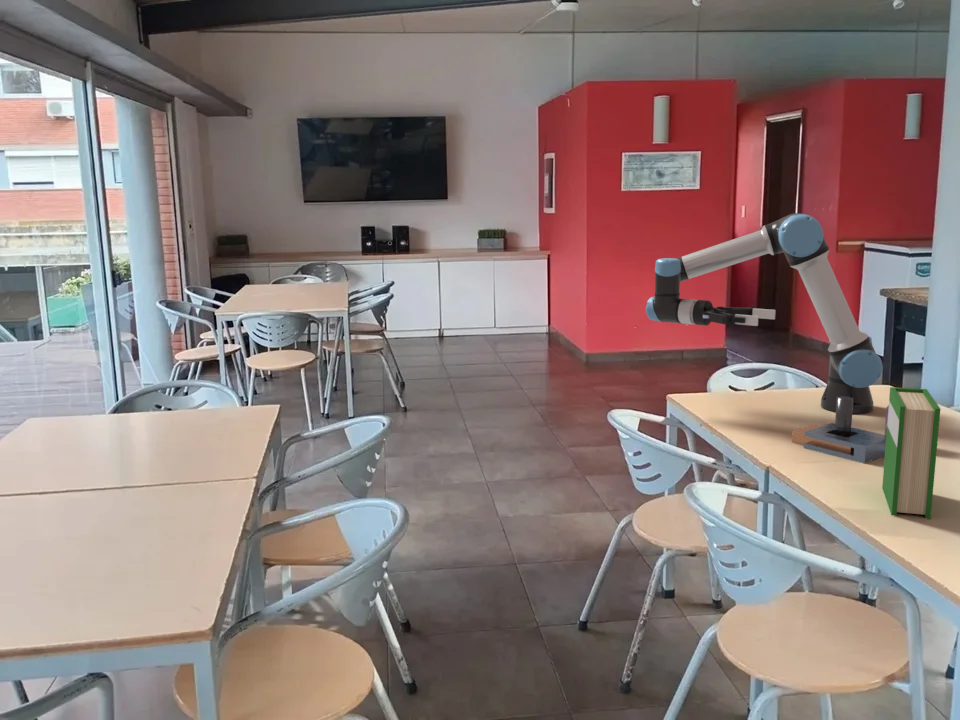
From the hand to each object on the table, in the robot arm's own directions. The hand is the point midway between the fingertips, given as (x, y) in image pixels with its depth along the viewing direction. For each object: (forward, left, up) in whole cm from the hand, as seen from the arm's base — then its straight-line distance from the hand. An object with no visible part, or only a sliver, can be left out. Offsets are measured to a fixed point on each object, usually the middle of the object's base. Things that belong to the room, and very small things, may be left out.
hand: (766, 317), depth 242 cm
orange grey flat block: (+3, +27, -32) cm, 42 cm away
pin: (+3, +27, -32) cm, 42 cm away
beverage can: (-11, +35, -32) cm, 49 cm away
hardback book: (+28, +57, -32) cm, 71 cm away
